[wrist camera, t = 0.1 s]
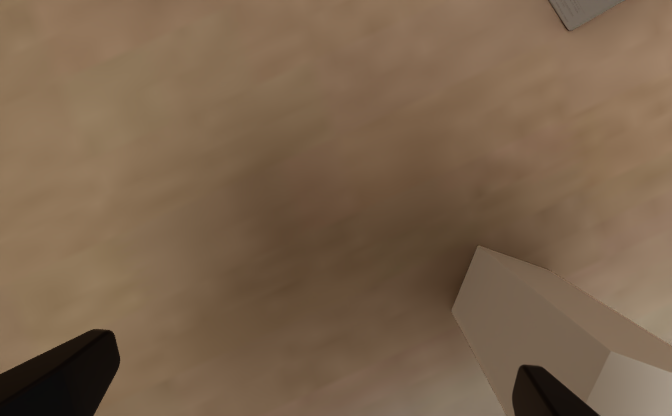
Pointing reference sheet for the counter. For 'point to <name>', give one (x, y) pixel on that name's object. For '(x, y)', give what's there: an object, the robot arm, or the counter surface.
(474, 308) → the tall cream pillar
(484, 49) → the counter surface
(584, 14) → the skincare box
